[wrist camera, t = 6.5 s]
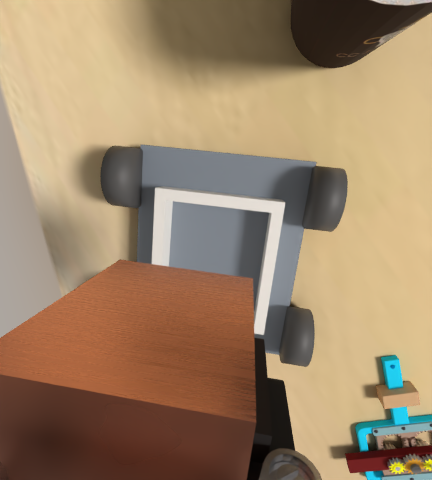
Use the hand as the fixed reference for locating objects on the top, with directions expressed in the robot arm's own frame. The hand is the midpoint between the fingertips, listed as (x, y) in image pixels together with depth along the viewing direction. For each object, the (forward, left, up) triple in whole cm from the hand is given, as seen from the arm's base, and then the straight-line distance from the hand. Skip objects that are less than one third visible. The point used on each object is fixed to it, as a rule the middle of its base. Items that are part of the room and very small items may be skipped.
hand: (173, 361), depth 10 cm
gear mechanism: (+17, +19, -15) cm, 29 cm away
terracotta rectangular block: (0, 0, -1) cm, 1 cm away
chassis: (0, 0, -14) cm, 14 cm away
